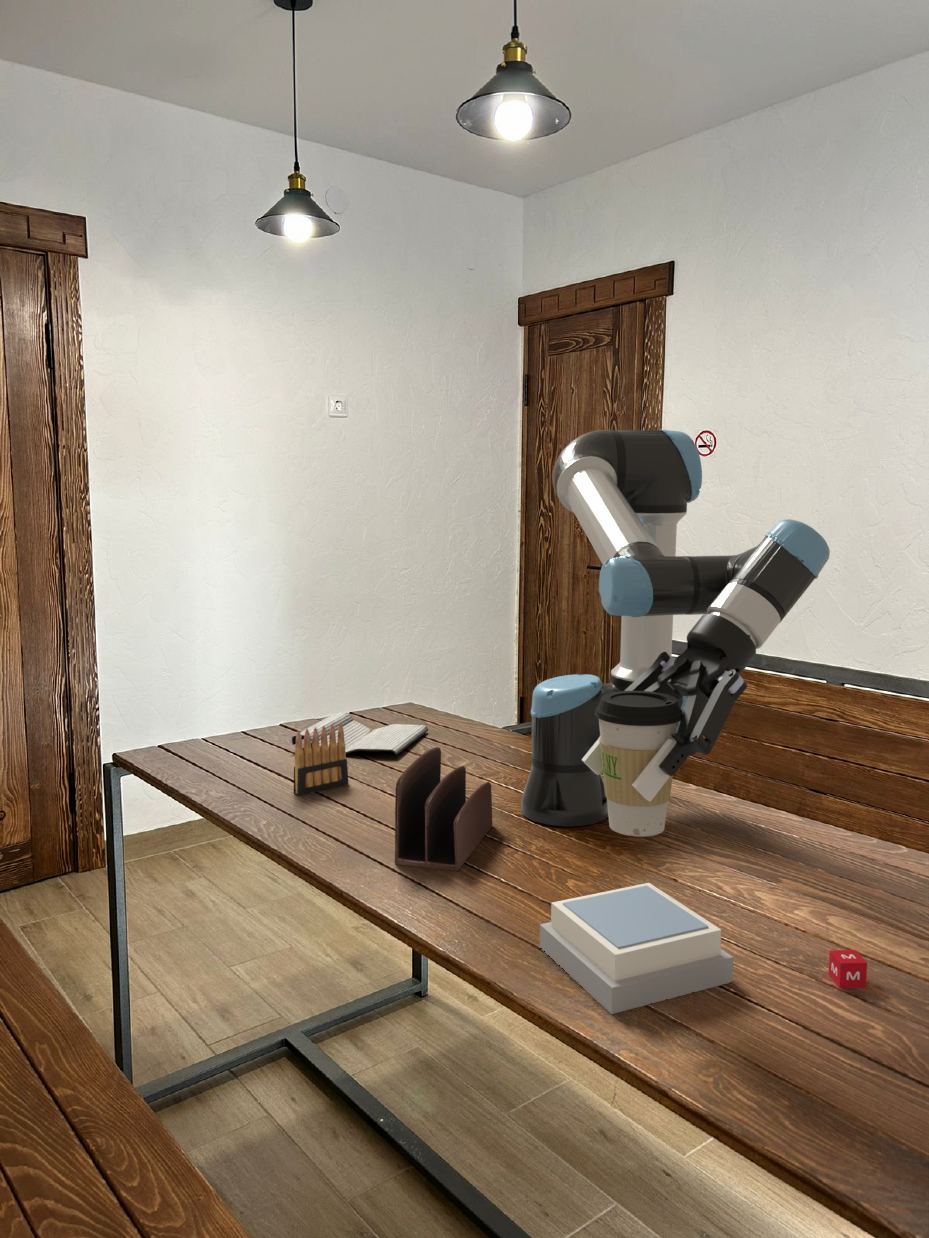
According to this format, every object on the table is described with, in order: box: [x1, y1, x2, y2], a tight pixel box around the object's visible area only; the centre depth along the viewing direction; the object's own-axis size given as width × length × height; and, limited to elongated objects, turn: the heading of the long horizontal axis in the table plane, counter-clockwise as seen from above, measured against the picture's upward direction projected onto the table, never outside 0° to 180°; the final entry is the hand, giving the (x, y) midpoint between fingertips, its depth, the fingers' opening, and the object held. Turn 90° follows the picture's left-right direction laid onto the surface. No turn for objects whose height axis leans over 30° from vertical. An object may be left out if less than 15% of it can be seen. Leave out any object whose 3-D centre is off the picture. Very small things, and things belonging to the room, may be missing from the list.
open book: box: [291, 711, 429, 759], centre depth 207 cm, size 23×24×5 cm
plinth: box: [539, 882, 734, 1015], centre depth 109 cm, size 16×16×6 cm
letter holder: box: [394, 746, 493, 872], centre depth 146 cm, size 10×20×14 cm, turn 163°
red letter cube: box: [827, 949, 868, 989], centre depth 106 cm, size 3×3×3 cm
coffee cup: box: [595, 691, 683, 837], centre depth 106 cm, size 10×10×15 cm
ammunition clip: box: [293, 723, 350, 797], centre depth 174 cm, size 11×2×12 cm, turn 127°
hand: (614, 779), depth 105 cm, fingers closed on coffee cup, 10 cm apart
